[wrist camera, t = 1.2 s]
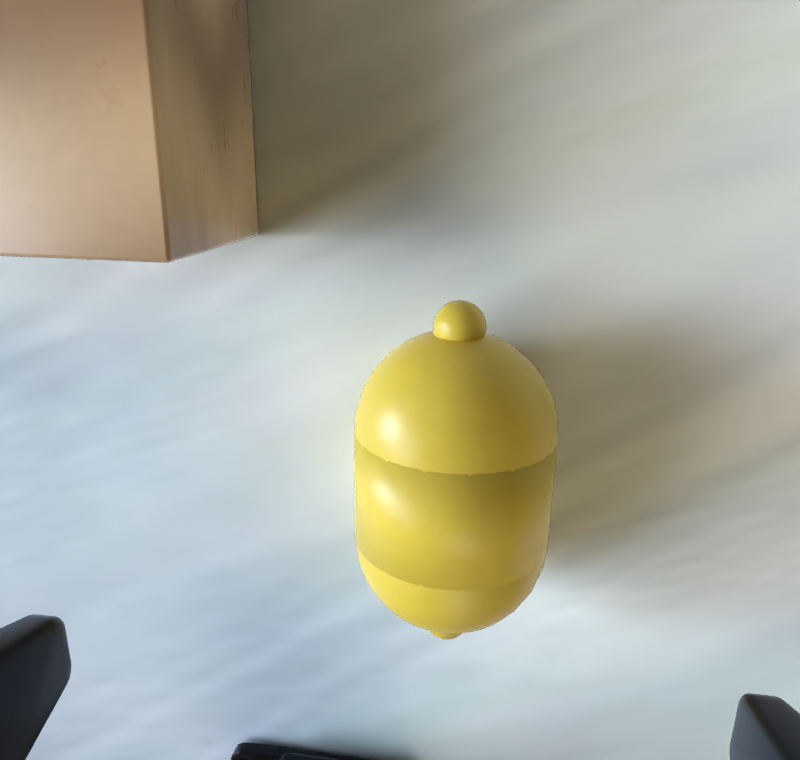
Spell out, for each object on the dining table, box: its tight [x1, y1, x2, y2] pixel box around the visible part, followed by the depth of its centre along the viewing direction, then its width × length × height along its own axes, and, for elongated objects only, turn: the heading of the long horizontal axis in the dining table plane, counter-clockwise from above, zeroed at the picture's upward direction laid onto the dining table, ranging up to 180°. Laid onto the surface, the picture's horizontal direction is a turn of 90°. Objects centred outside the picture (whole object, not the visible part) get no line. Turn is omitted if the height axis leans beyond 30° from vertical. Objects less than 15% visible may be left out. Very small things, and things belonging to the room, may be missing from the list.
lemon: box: [354, 300, 558, 639], centre depth 16 cm, size 9×5×5 cm, turn 179°
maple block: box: [0, 0, 258, 263], centre depth 14 cm, size 9×9×5 cm
